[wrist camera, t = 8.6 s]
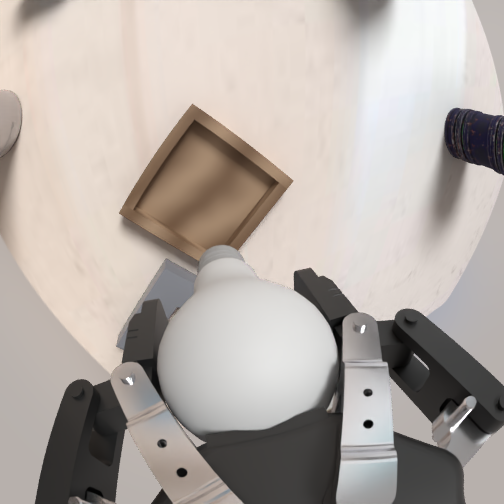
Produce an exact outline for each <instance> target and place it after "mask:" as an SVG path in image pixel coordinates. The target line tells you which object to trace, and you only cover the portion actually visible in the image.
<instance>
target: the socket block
mask: <svg viewBox="0 0 504 504" xmlns="http://www.w3.org/2000/svg"><path fill="white" fill-rule="evenodd" d="M196 277H197V275H195V274H193V273H191V272H189V271H187V270H186V269H184V268H182V267H180V266H179V265H177V264H175V263H173V262H171V261H170V260H168V259H165V261H164V263H163V264H162V266H161V267H160V269H159V270H158V272H157V273H156V275H155V276H154V278H153V279H152V281H151V283H150V284H149V286H148V287H147V289H146V290H145V292H144V294H143V295H142V297H141V299H140V300H139V302H138V303H137V305H136V307H135V308H134V310H133V312H132V313H131V315H130V317H129V318H128V320H127V322H126V323H125V325H124V327H123V329H122V330H121V332H120V334H119V336H118V340H117V345H116V347H118V348H120V349H123V350H124V346H125V341H126V335H127V332H128V331H127V330H128V325H129V321H130V320H131V319H132V317H133V316H134V314H138V313H141V309H142V304H143V301H147V300H153V299H160V301H161V303H162V306H163V308H164V311H165V314H166V317H167V319H169V317H170V316H171V315H172V313H173V312H174V311H175V309H176V308H177V307H178V308H181V307H182V306H183V304H184V303H185V302H186V301H187V300H188V299H189V298H190V297H192V296H193V294H194V283H195V279H196Z"/></svg>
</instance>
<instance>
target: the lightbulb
mask: <svg viewBox="0 0 504 504" xmlns="http://www.w3.org/2000/svg"><path fill="white" fill-rule="evenodd" d="M157 373H158V378H159V383H160V387H161V391H162V395H163V397H164V399H165V401H166V403H167V405H168V407H169V409H170V410H171V412H172V414H173V415H174V416H175V417H176V419H177V420H178V421H179V422H180V423H181V424H182V425H183V426H184V427H185V428H186V429H187V430H189V431H190V432H191V433H192V434H194V435H195V436H196V437H198V438H199V439H200V440H202V441H204V442H206V443H207V440H206V435H212V434H219V433H224V432H230V431H235V430H238V431H262V430H270V429H272V428H274V427H276V426H278V425H280V424H282V423H284V422H285V421H287V420H289V419H291V418H293V417H294V416H296V415H299V414H303V413H306V412H309V411H312V410H315V409H318V408H321V407H325V409H326V410H327V409H328V407H329V405H330V403H331V400H332V398H333V395H334V393H335V390H336V386H337V382H338V376H339V356H338V348H337V345H336V342H335V339H334V336H333V333H332V331H331V328H330V326H329V324H328V322H327V321H326V319H325V318H324V316H323V315H322V314H321V313H320V311H319V310H318V309H317V308H316V307H315V305H313V304H312V303H311V302H310V301H308V300H307V299H306V298H305V297H303V296H302V295H300V294H299V293H297V292H296V291H294V290H293V289H291V288H288V287H285V286H283V285H280V284H277V283H274V282H271V281H268V280H265V279H260V278H259V277H258V276H257V274H256V273H255V271H254V269H253V268H252V267H251V266H250V265H248V264H247V263H246V262H245V261H244V259H243V257H242V255H241V254H240V253H239V252H238V251H237V250H236V249H235V248H233V247H231V246H227V245H217V246H213V247H211V248H209V249H207V250H206V251H205V252H204V253H203V254H202V256H201V257H200V259H199V263H198V275H197V277H196V279H195V283H194V294H193V296H192V297H190V298H189V299H188V300H187V301H186V302H185V303H184V304H183V306H182V307H181V308H180V309H179V310H178V311H177V312H176V314H175V315H174V316H173V317H172V319H171V320H170V321H169V323H168V325H167V328H166V330H165V332H164V334H163V337H162V340H161V342H160V345H159V350H158V357H157Z"/></svg>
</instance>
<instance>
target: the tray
mask: <svg viewBox="0 0 504 504" xmlns="http://www.w3.org/2000/svg"><path fill="white" fill-rule="evenodd" d="M292 182H293V180H292V179H291V178H290V177H288V176H287V175H286V174H285V173H284V172H282V171H281V170H280V169H279V168H277V167H276V166H275V165H274V164H273V163H271V162H270V161H269V160H268V159H266V158H265V157H264V156H263V155H261V154H260V153H259V152H258V151H256V150H255V149H254V148H252V147H251V146H250V145H249V144H247V143H246V142H245V141H243V140H242V139H241V138H239V137H238V136H237V135H235V134H234V133H233V132H231V131H230V130H229V129H227V128H226V127H225V126H223V125H222V124H220V123H219V122H218V121H216V120H215V119H213V118H212V117H211V116H209V115H208V114H206V113H205V112H204V111H202V110H201V109H199V108H198V107H196V106H195V105H193V104H192V105H191V106H190V108H189V109H188V110H187V111H186V113H185V114H184V115H183V116H182V118H181V119H180V120H179V122H178V123H177V124H176V126H175V127H174V128H173V130H172V131H171V132H170V134H169V135H168V137H167V138H166V139H165V141H164V142H163V144H162V145H161V146H160V148H159V149H158V151H157V152H156V154H155V155H154V157H153V158H152V160H151V161H150V163H149V164H148V166H147V167H146V169H145V170H144V172H143V174H142V175H141V177H140V178H139V180H138V182H137V183H136V185H135V186H134V188H133V190H132V191H131V193H130V195H129V196H128V198H127V200H126V202H125V203H124V205H123V207H122V209H121V210H120V212H119V214H121V215H122V216H124V217H126V218H127V219H129V220H130V221H132V222H134V223H135V224H137V225H139V226H140V227H142V228H144V229H145V230H147V231H148V232H150V233H152V234H153V235H155V236H157V237H158V238H160V239H162V240H164V241H165V242H167V243H169V244H170V245H172V246H174V247H175V248H177V249H179V250H180V251H182V252H184V253H186V254H187V255H189V256H191V257H193V258H194V259H196V260H198V261H199V259H200V257H201V256H202V254H203V253H204V252H205V251H206V250H207V249H209V248H211V247H213V246H217V245H227V246H231V247H233V248H235V249H236V250H237V251H238V250H239V248H240V247H241V246H242V245H243V243H244V242H245V241H246V240H247V238H248V237H249V236H250V234H251V233H252V232H253V231H254V229H255V228H256V227H257V226H258V224H259V223H260V222H261V221H262V219H263V218H264V217H265V216H266V215H267V213H268V212H269V211H270V210H271V208H272V207H273V206H274V205H275V203H276V202H277V201H278V200H279V198H280V197H281V196H282V195H283V193H284V192H285V191H286V190H287V188H288V187H289V186H290V185H291V184H292Z"/></svg>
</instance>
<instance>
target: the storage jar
mask: <svg viewBox="0 0 504 504" xmlns="http://www.w3.org/2000/svg"><path fill="white" fill-rule="evenodd" d="M445 141H446V145H447V148H448V150H449V152H450V153H451V155H452V156H453V157H455V158H458V159H461V160H464V161H466V162H468V163H471V164H476V165H483V166H485V167H488V168H491V169H493V170H494V171H495V172H497V173H499V174H502V175H504V116H502V115H497V116H493V115H488V114H483V113H482V112H480V111H474V110H471V109H460V108H454V109H452V110H451V111H450V112H449V113H448V115H447V118H446V121H445Z"/></svg>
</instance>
